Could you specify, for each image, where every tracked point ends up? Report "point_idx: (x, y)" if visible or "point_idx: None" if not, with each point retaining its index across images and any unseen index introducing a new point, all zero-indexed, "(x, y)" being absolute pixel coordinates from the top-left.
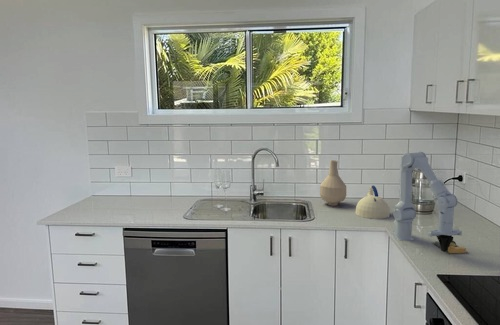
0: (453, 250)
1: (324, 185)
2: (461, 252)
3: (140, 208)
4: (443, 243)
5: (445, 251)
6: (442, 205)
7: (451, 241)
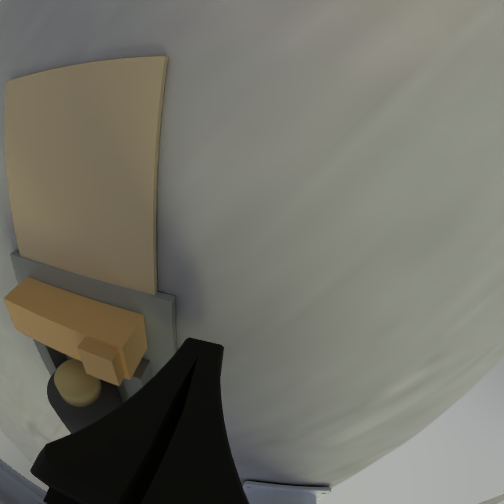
0: (103, 325)
1: None
2: (51, 287)
3: None
4: (225, 445)
5: (200, 342)
6: None
7: (70, 413)
